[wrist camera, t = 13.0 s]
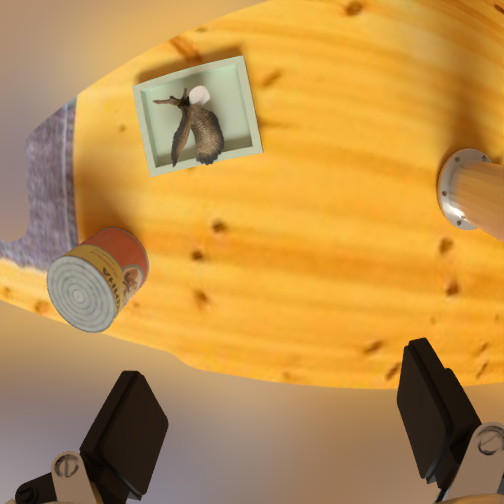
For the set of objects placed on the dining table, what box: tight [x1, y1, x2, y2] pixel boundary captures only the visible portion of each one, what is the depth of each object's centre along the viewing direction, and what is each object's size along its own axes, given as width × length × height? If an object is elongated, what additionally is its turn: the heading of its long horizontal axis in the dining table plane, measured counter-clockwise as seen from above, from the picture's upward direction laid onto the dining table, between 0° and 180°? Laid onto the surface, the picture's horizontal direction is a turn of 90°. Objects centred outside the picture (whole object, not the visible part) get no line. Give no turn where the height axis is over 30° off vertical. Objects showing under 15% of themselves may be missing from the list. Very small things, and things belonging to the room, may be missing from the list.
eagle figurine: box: [153, 85, 225, 168], centre depth 34 cm, size 8×7×9 cm
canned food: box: [47, 227, 149, 333], centre depth 40 cm, size 11×11×12 cm
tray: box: [132, 55, 263, 177], centre depth 37 cm, size 15×13×2 cm
